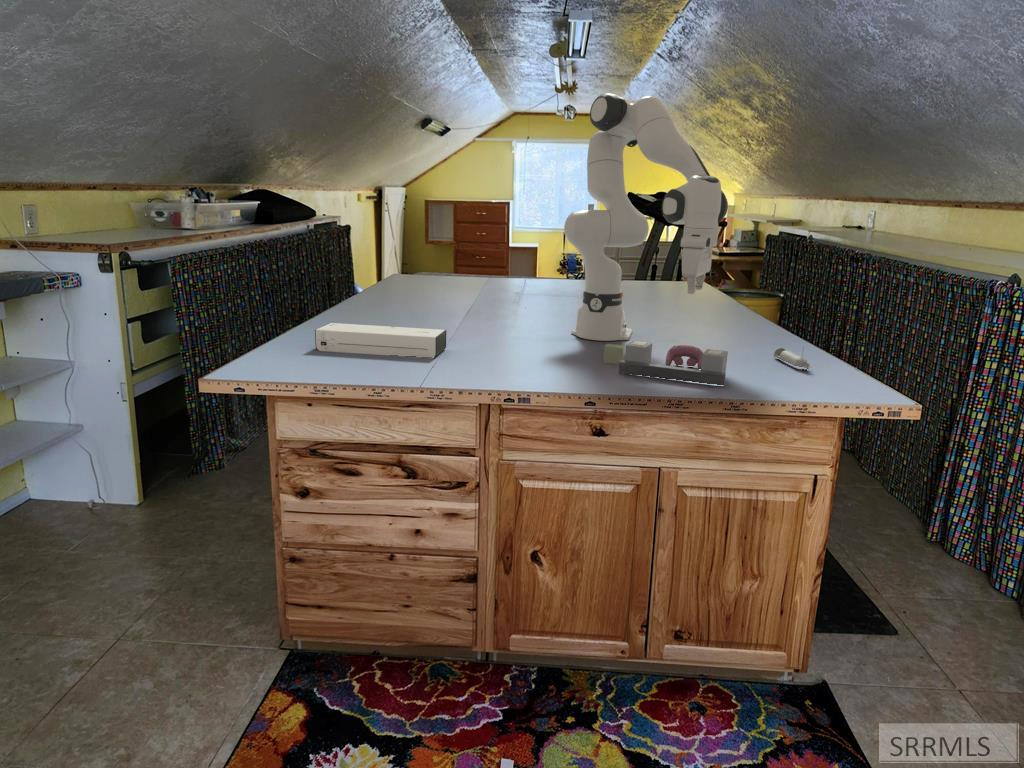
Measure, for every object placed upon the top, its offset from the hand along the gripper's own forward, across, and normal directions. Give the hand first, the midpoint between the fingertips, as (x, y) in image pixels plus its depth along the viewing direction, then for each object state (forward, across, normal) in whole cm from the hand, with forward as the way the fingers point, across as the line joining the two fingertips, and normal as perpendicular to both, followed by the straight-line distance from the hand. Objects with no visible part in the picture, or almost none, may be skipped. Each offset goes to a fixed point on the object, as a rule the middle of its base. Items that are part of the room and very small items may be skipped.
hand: (695, 291), depth 196 cm
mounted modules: (+19, +19, 0) cm, 27 cm away
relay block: (+19, +12, -18) cm, 29 cm away
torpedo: (+20, -11, +26) cm, 34 cm away
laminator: (+20, +34, -78) cm, 87 cm away
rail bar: (+19, +23, 0) cm, 30 cm away
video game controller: (+20, +7, 0) cm, 21 cm away
